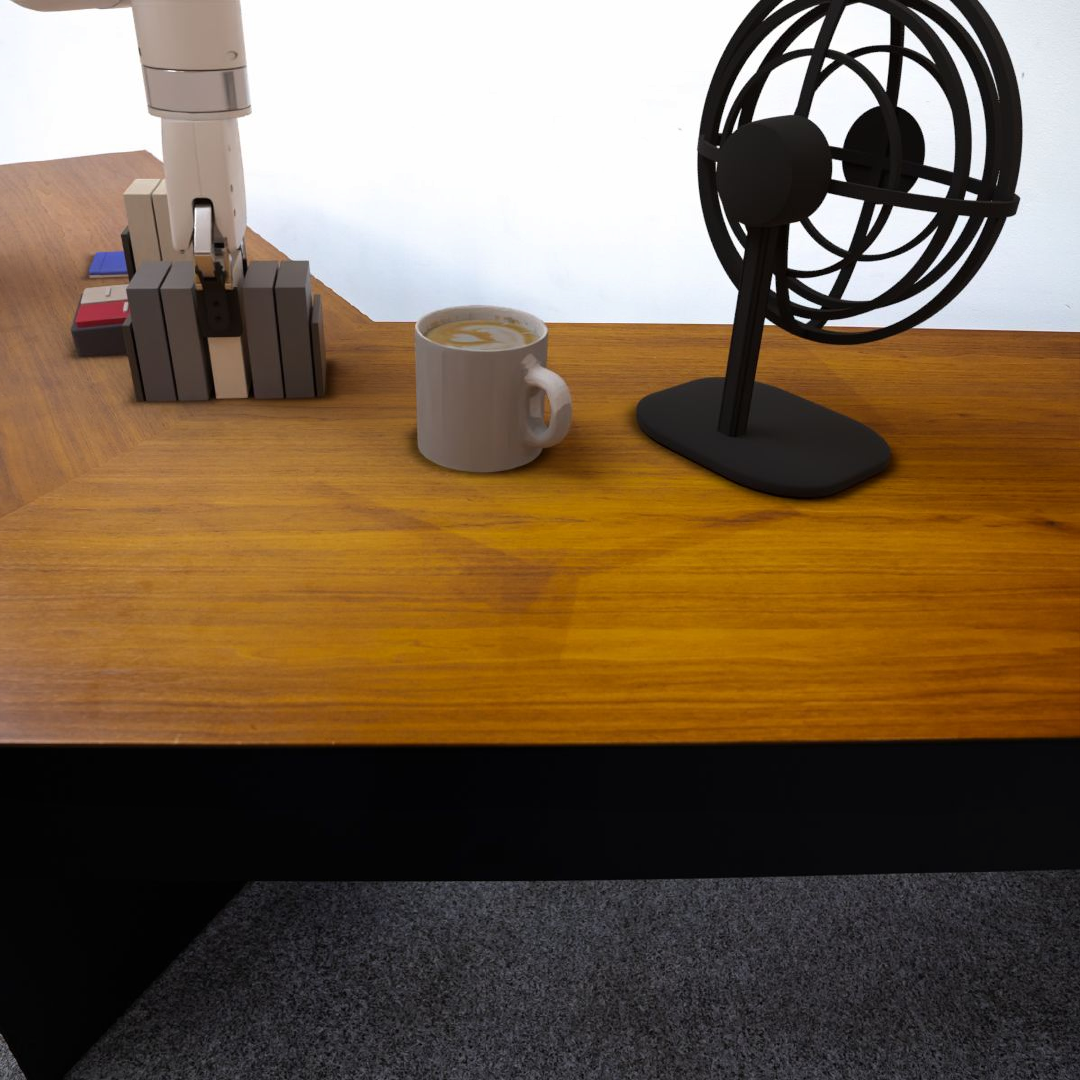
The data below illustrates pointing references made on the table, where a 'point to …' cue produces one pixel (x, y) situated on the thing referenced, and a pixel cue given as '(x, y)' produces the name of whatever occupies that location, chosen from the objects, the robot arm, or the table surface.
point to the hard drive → (108, 265)
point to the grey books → (183, 352)
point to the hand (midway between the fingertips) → (227, 318)
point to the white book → (232, 349)
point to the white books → (149, 226)
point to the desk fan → (795, 194)
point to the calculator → (101, 321)
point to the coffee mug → (486, 388)
